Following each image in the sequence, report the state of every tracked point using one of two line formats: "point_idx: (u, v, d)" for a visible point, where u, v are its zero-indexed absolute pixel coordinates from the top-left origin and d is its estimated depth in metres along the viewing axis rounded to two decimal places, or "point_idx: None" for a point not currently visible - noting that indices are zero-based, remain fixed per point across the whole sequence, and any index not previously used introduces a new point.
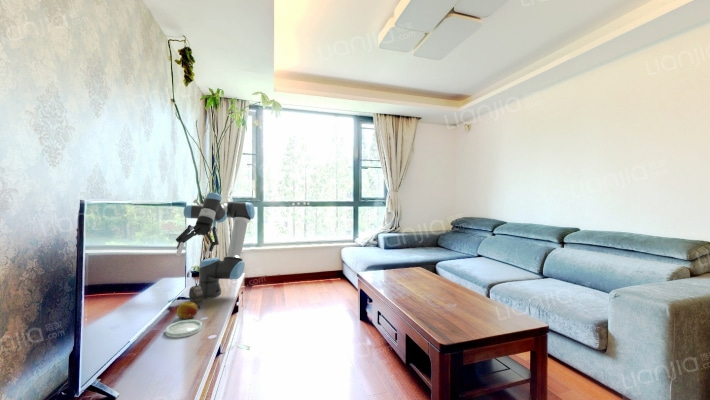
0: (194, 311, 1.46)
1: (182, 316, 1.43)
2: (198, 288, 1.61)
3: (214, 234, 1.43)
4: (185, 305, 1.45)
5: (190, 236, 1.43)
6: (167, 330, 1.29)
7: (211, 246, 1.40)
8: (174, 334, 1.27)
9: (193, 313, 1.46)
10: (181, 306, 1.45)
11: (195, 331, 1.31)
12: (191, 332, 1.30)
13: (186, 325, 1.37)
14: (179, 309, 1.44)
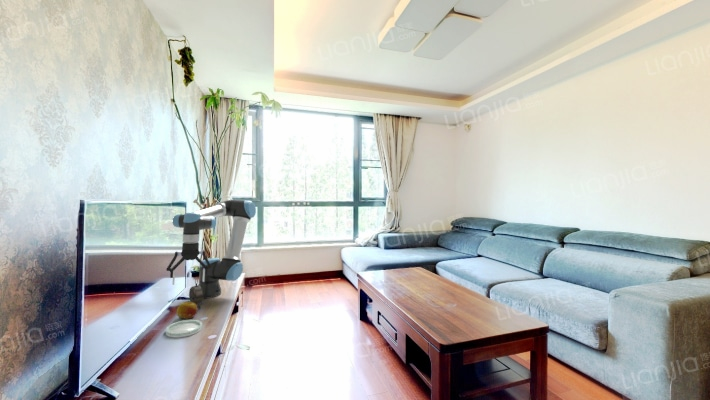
0: (194, 311, 1.46)
1: (182, 316, 1.43)
2: (198, 288, 1.61)
3: (206, 259, 1.51)
4: (185, 305, 1.45)
5: None
6: (167, 330, 1.29)
7: (206, 271, 1.51)
8: (174, 334, 1.27)
9: (193, 313, 1.46)
10: (181, 306, 1.45)
11: (195, 331, 1.31)
12: (191, 332, 1.30)
13: (186, 325, 1.37)
14: (179, 309, 1.44)
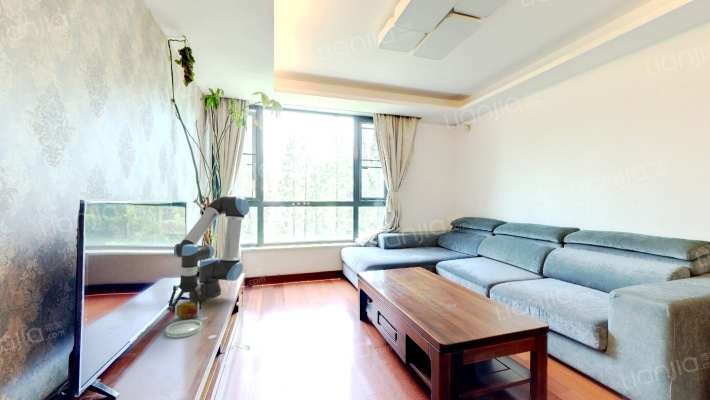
0: (194, 311, 1.46)
1: (182, 316, 1.43)
2: (198, 288, 1.61)
3: (202, 292, 1.50)
4: (185, 305, 1.45)
5: (180, 296, 1.46)
6: (167, 330, 1.29)
7: (200, 305, 1.50)
8: (174, 334, 1.27)
9: (193, 313, 1.46)
10: (181, 306, 1.45)
11: (195, 331, 1.31)
12: (191, 332, 1.30)
13: (186, 325, 1.37)
14: (179, 309, 1.44)
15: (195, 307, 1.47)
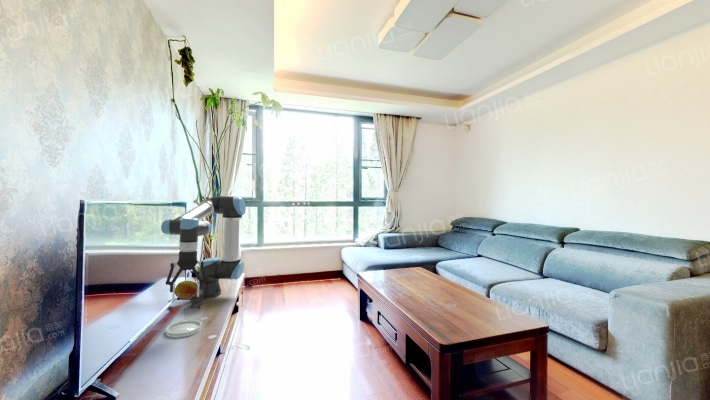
0: (194, 291, 1.33)
1: (181, 296, 1.30)
2: None
3: (203, 271, 1.37)
4: (184, 284, 1.32)
5: (179, 274, 1.33)
6: (167, 330, 1.29)
7: (200, 284, 1.37)
8: (174, 334, 1.27)
9: (193, 293, 1.33)
10: (179, 285, 1.31)
11: (195, 331, 1.31)
12: (191, 332, 1.30)
13: (186, 325, 1.37)
14: (177, 288, 1.31)
15: (195, 286, 1.34)
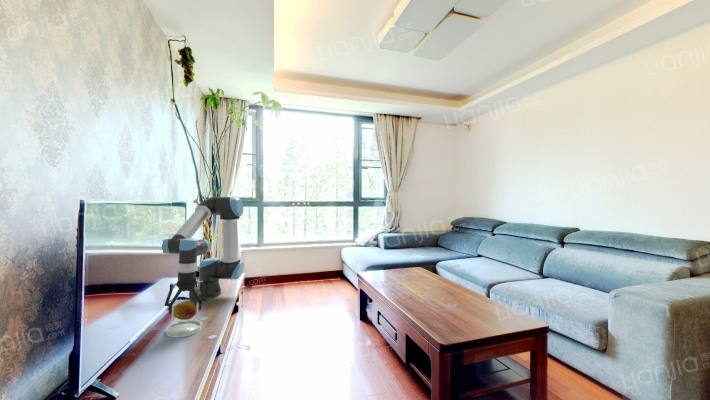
0: (193, 311, 1.33)
1: (180, 317, 1.30)
2: (198, 288, 1.61)
3: (202, 291, 1.37)
4: (183, 305, 1.32)
5: (178, 295, 1.33)
6: (167, 330, 1.29)
7: (199, 305, 1.37)
8: (174, 334, 1.27)
9: (192, 314, 1.32)
10: (178, 306, 1.31)
11: (195, 331, 1.31)
12: (191, 332, 1.30)
13: (186, 325, 1.37)
14: (176, 309, 1.31)
15: (194, 307, 1.34)
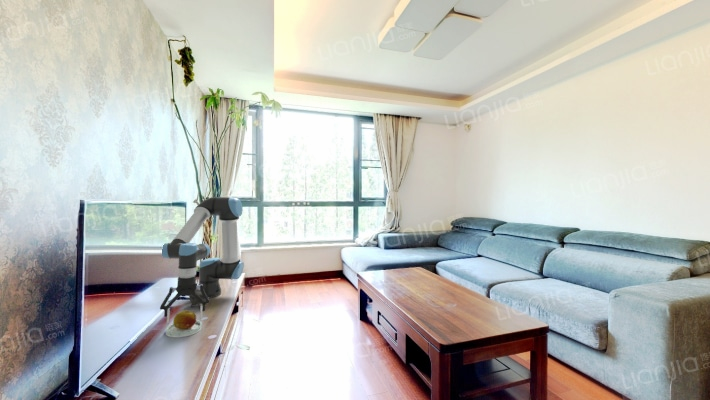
0: (192, 321, 1.33)
1: (179, 327, 1.30)
2: None
3: (204, 294, 1.37)
4: (183, 314, 1.32)
5: (175, 300, 1.32)
6: (167, 330, 1.29)
7: (203, 307, 1.38)
8: (174, 334, 1.27)
9: (191, 323, 1.33)
10: (178, 315, 1.31)
11: (195, 331, 1.31)
12: (191, 332, 1.30)
13: None
14: (176, 319, 1.31)
15: (194, 316, 1.34)
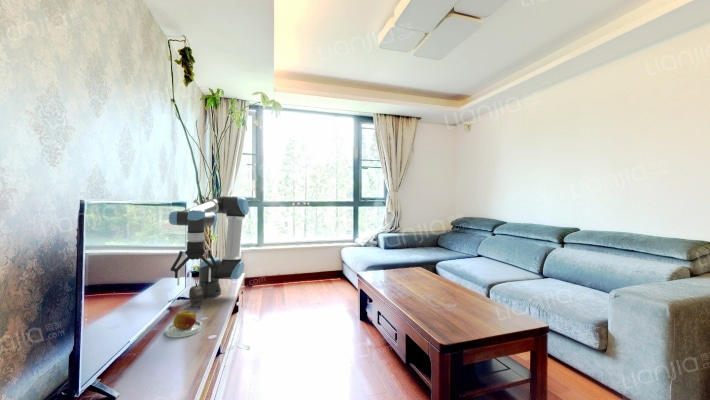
0: (192, 321, 1.33)
1: (179, 327, 1.30)
2: (198, 288, 1.61)
3: (212, 258, 1.43)
4: (183, 314, 1.32)
5: None
6: (167, 330, 1.29)
7: (212, 270, 1.44)
8: (174, 334, 1.27)
9: (191, 323, 1.33)
10: (178, 315, 1.31)
11: (195, 331, 1.31)
12: (191, 332, 1.30)
13: None
14: (176, 319, 1.31)
15: (193, 317, 1.34)
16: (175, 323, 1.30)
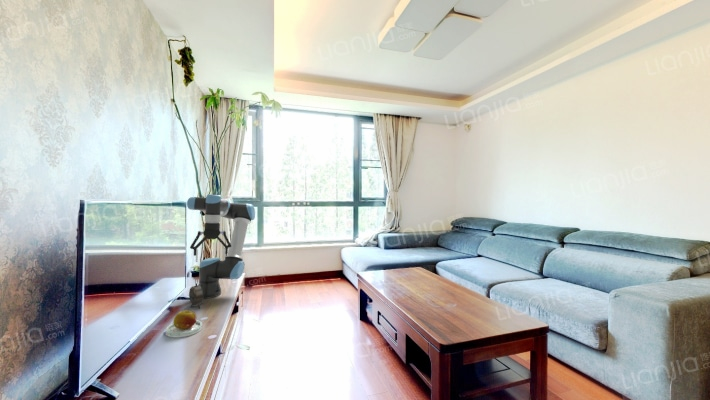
0: (192, 321, 1.33)
1: (179, 327, 1.30)
2: (198, 288, 1.61)
3: (226, 239, 1.58)
4: (183, 314, 1.32)
5: (202, 242, 1.53)
6: (167, 330, 1.29)
7: (226, 250, 1.59)
8: (174, 334, 1.27)
9: (191, 323, 1.33)
10: (178, 315, 1.31)
11: (195, 331, 1.31)
12: (191, 332, 1.30)
13: None
14: (176, 319, 1.31)
15: (193, 317, 1.34)
16: (175, 323, 1.30)
